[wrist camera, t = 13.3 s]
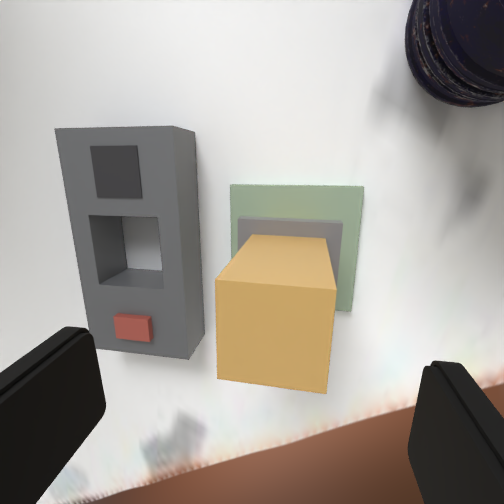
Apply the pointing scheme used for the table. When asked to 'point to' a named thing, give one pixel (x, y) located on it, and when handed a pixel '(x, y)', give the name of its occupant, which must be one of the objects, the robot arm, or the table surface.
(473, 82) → the storage jar
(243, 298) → the plug
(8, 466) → the robot arm
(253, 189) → the mat
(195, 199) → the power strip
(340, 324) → the table surface
